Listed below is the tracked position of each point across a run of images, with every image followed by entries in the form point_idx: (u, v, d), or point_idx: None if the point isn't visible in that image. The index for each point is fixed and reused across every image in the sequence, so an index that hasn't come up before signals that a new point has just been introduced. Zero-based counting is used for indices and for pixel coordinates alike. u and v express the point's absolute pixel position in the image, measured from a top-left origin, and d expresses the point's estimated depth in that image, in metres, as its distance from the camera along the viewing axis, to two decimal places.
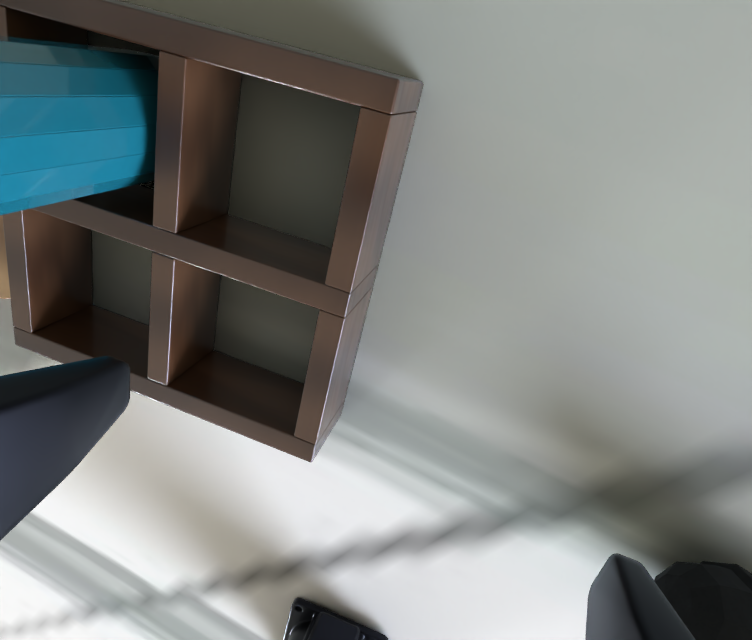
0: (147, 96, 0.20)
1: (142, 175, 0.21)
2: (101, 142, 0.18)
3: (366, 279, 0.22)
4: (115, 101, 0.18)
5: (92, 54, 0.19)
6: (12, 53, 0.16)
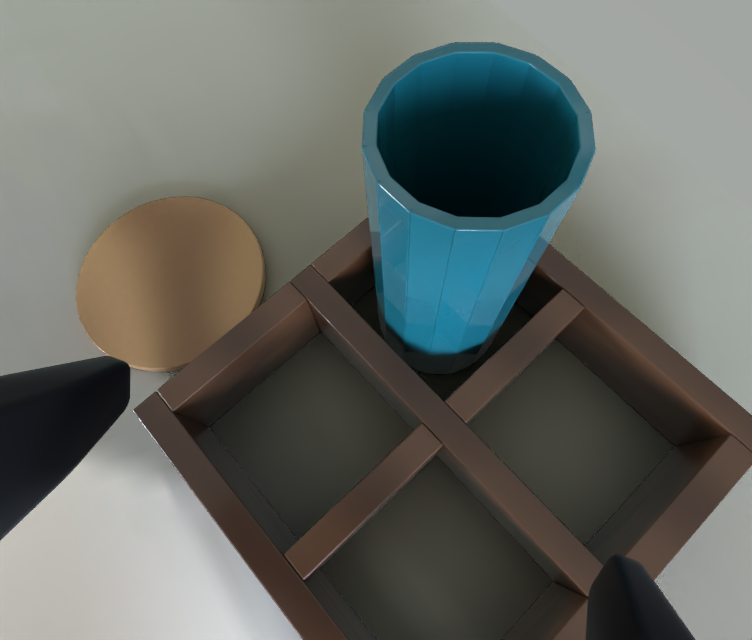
0: None
1: (450, 355, 0.20)
2: (505, 311, 0.18)
3: None
4: None
5: None
6: None
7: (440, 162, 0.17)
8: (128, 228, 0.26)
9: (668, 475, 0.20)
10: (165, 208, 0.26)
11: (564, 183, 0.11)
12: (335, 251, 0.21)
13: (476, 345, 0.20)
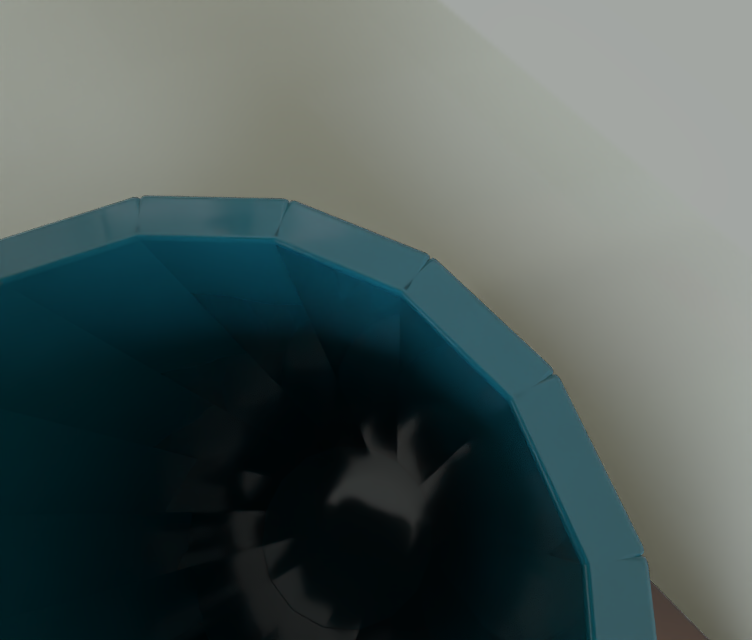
0: None
1: None
2: None
3: None
4: None
5: None
6: None
7: (272, 387, 0.07)
8: None
9: None
10: None
11: None
12: None
13: None
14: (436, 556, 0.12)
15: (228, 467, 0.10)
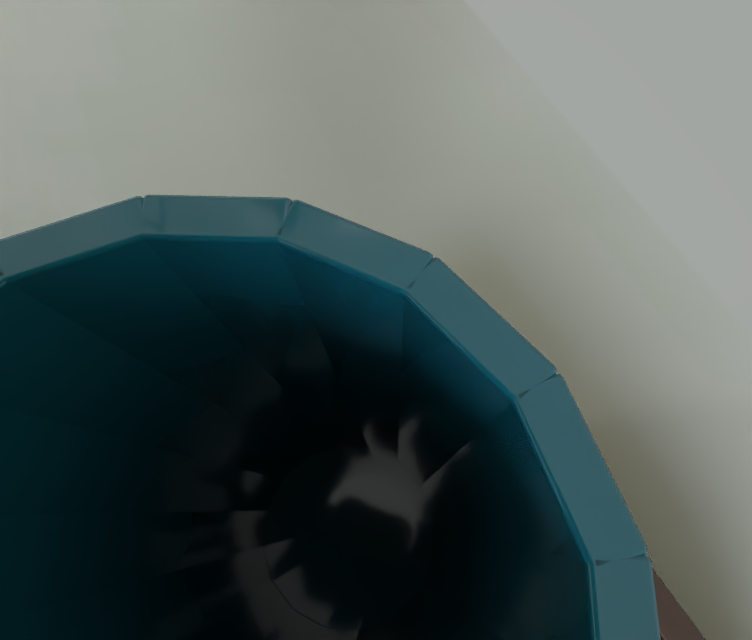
0: None
1: None
2: None
3: None
4: None
5: None
6: None
7: (273, 386, 0.07)
8: None
9: None
10: None
11: None
12: None
13: None
14: (437, 556, 0.12)
15: (229, 466, 0.10)
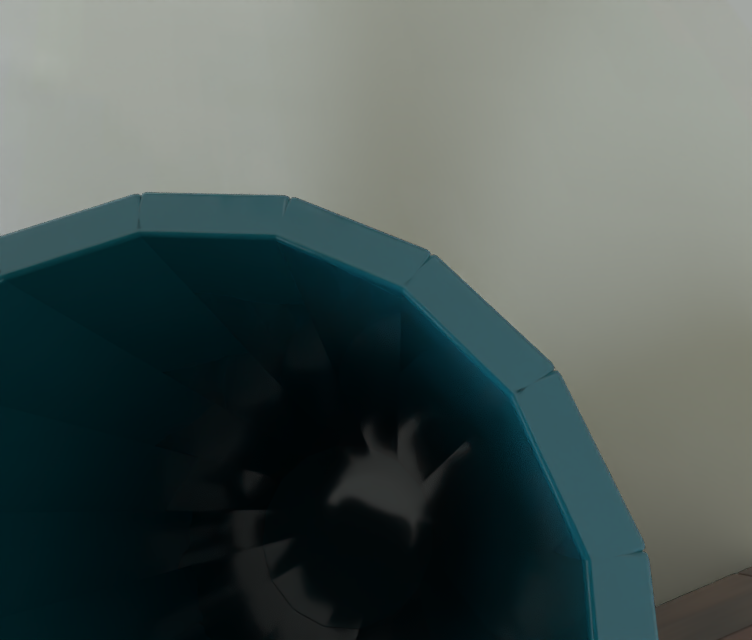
0: None
1: None
2: None
3: None
4: None
5: None
6: None
7: (272, 385, 0.07)
8: None
9: None
10: None
11: None
12: None
13: None
14: (436, 555, 0.12)
15: (228, 465, 0.10)
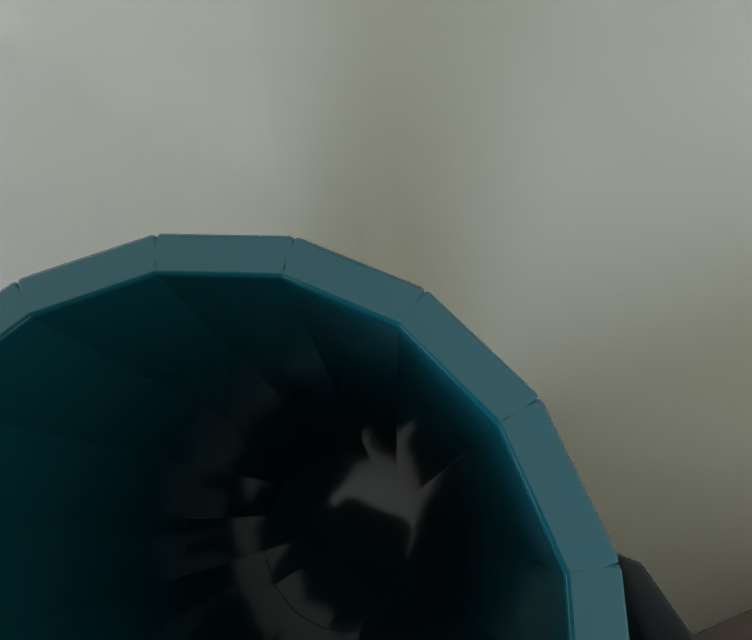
0: None
1: None
2: None
3: None
4: None
5: None
6: None
7: (275, 399, 0.08)
8: None
9: None
10: None
11: None
12: None
13: None
14: (435, 559, 0.12)
15: (232, 474, 0.10)
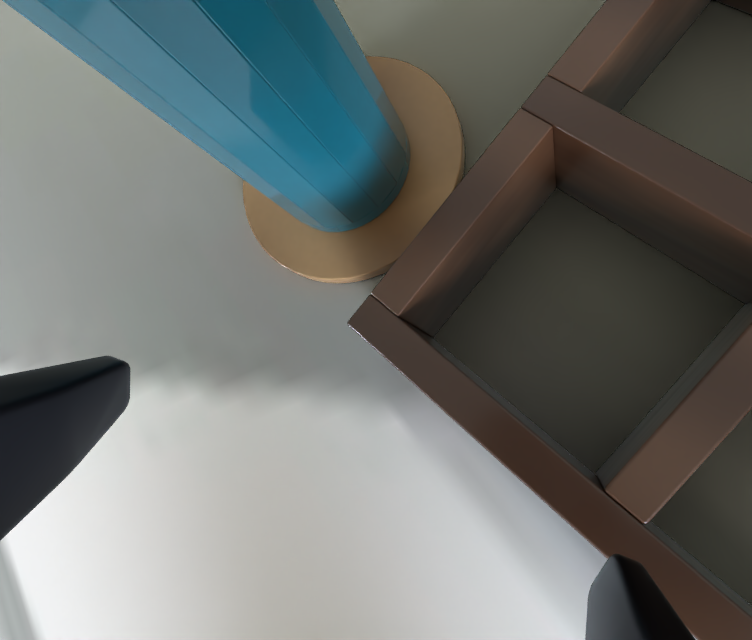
0: (380, 86, 0.16)
1: (344, 179, 0.16)
2: (339, 71, 0.13)
3: None
4: (359, 52, 0.14)
5: None
6: None
7: None
8: None
9: None
10: None
11: None
12: (582, 44, 0.14)
13: (360, 147, 0.15)
14: None
15: None
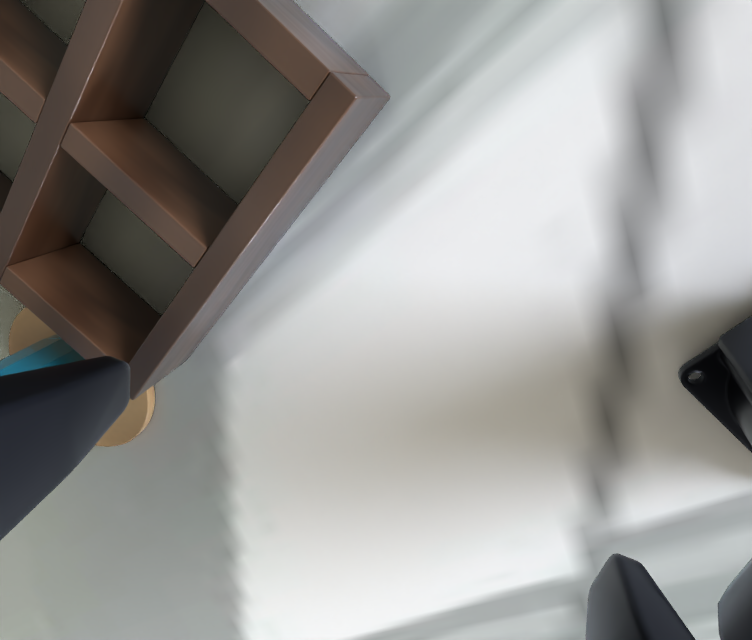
0: (1, 360, 0.25)
1: None
2: None
3: None
4: None
5: None
6: None
7: None
8: None
9: None
10: None
11: None
12: None
13: None
14: None
15: None
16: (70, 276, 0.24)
